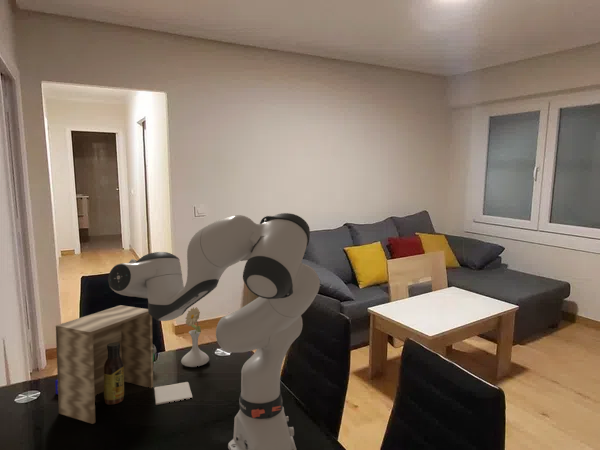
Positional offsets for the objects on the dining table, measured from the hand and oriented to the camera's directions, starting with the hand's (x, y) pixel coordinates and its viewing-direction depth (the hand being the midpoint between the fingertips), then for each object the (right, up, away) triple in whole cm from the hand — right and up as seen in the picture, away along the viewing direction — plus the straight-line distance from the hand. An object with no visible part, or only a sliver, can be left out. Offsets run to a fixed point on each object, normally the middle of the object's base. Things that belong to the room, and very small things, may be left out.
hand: (165, 286), depth 133 cm
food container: (-19, -38, +30) cm, 52 cm away
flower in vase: (+1, -38, +35) cm, 52 cm away
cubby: (-21, -40, +6) cm, 46 cm away
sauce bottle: (-19, -40, +5) cm, 45 cm away
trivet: (-1, -40, +10) cm, 41 cm away
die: (-39, -40, +11) cm, 57 cm away
